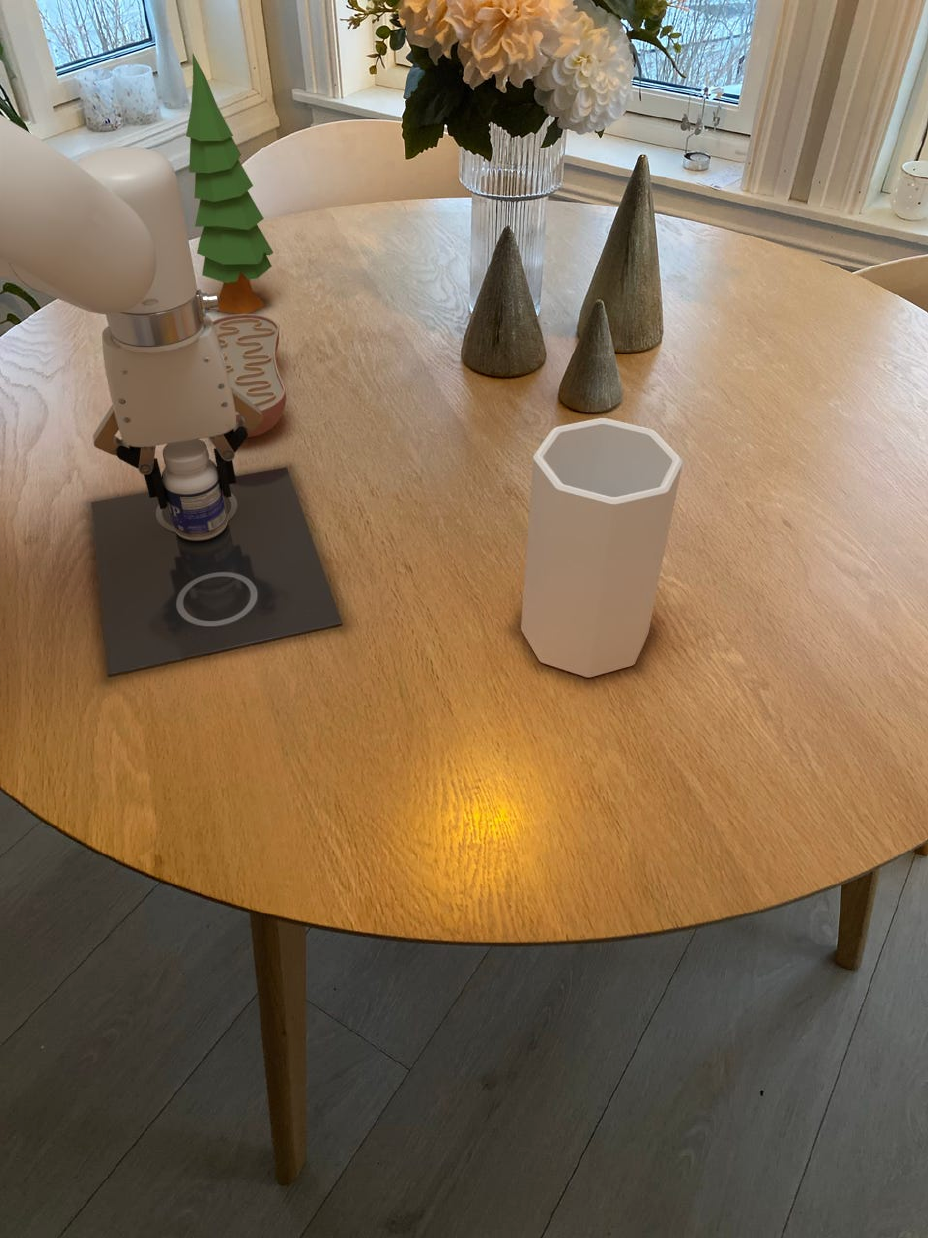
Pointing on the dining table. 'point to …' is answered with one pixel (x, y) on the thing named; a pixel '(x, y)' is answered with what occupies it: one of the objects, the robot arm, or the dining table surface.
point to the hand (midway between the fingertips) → (194, 493)
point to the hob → (207, 576)
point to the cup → (596, 543)
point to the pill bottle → (193, 491)
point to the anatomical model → (253, 364)
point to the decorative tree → (224, 204)
